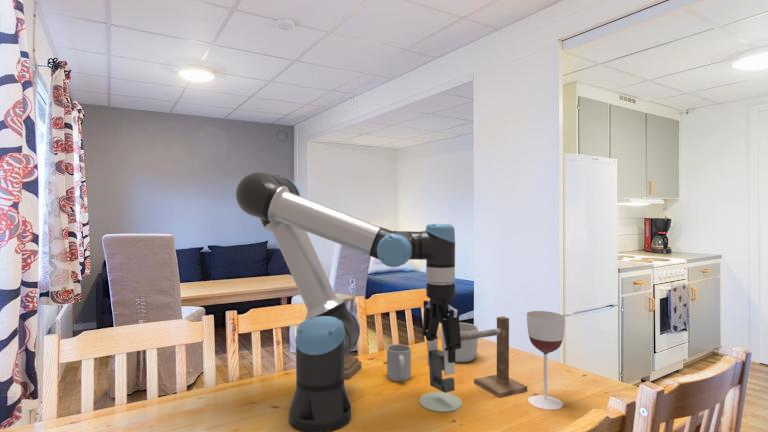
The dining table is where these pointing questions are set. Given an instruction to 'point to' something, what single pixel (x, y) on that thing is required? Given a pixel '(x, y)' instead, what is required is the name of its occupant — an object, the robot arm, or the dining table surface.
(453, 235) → the robot arm
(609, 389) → the dining table surface
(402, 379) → the cup
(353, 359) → the candle holder
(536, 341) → the wineglass
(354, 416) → the dining table surface
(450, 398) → the coaster
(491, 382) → the stand
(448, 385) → the link
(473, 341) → the planter
